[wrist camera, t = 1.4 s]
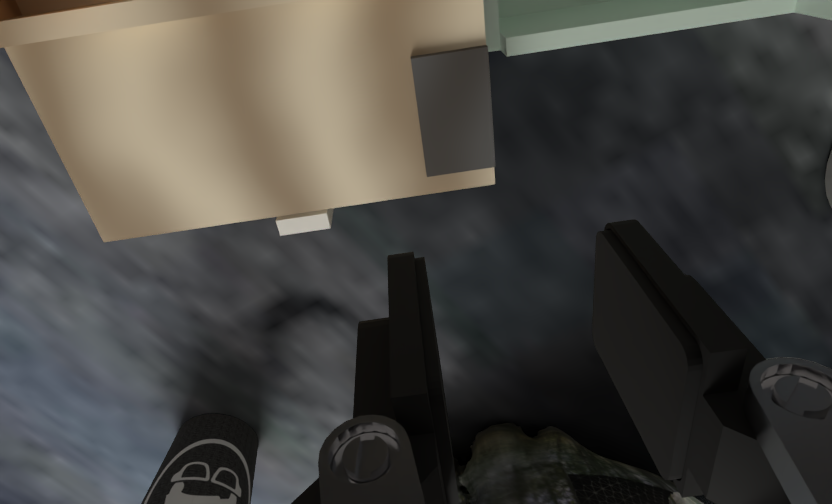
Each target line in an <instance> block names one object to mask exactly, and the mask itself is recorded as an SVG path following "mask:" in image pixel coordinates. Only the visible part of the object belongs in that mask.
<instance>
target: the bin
mask: <svg viewBox="0 0 832 504" xmlns="http://www.w3.org/2000/svg"><path fill="white" fill-rule="evenodd" d="M483 4H484V20H485V35H486V45H487V46H488V52H491V51H497V50H501V51H502V52H503V53H504V54H505V55H506V56H514V55H520V54H527V53H533V52H540V51H546V50H553V49H559V48H566V47H572V46H579V45H585V44H592V43H598V42H605V41H611V40H618V39H624V38H631V37H637V36H644V35H650V34H657V33H663V32H670V31H676V30H683V29H689V28H696V27H702V26H709V25H715V24H722V23H728V22H735V21H741V20H748V19H754V18H761V17H767V16H774V15H780V14H787V13H793V12H795V13H800V14H805V15H809V16H814V17H819V18H823V19H828V20H832V0H483Z"/></svg>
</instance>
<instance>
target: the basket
mask: <svg viewBox="0 0 832 504" xmlns="http://www.w3.org/2000/svg"><path fill="white" fill-rule="evenodd" d="M470 447H471V450H472V458H471V460H470V461H468V462H467V465H462V466H460V465H459V462H458V460H457V459H456V458H454V457H453V459H454V466H455V473H456V480H457V488H458V495H459V502H460V504H704V503H703V502H702V501H700V500H699V499H698V498H696V497H695V496H692V497H685V498H682V497H681V495H680V493H679V491H678V489H677V487H676V486H675V484H674V483H673V482H671V481H669V480H664V479H663V477H660V476H658V475H656V474H654V473H651V472H649V471H646V470H643V469H640V468H637V467H634V466H631V465H627V464H624V463H621V462H618V461H614V460H611V459H608V458H605V457H602V456H599V455H597V454H595V453H593V452H591V451H590V450H588V449H586V448H585V447H583V446H582V445H581V444H579V443H578V442H577V441H575V440H574V439H573V438H572V437H570V436H569V435H568V434H566V433H565V432H563V431H561V430H560V429H558V428H556V427H553V426H549V427H547V428H545V429H542V430H540V431H538V432H537V436H534V438H532V437H528V436H527V435H525V434H524V432H523V431H522V428H521V427H520V426H516V425H515V424H514V423H502V424H497V425H491V426H490V427H488V428H487V429H485V430H483V431H482V432H479V433H478V434H477V435H476V436H475V441H473V445H472V446H470Z"/></svg>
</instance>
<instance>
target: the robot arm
mask: <svg viewBox="0 0 832 504" xmlns="http://www.w3.org/2000/svg"><path fill="white" fill-rule="evenodd" d="M825 187H826V196H827V198H828V201H829V203H830V206H831V208H832V150H831V153H830V156H829V159H828V162H827V168H826V175H825ZM388 296H389V317H388V318H381V319H374V320H367V321H360V322H359V324H358V337H357V355H356V374H355V393H354V411H353V419H351V420H348V421H346V422H344V423H343V424H341V425H340V426H338V427H337V428H335V429H334V430H333V431H332V432H331V434H330V435H329V436H328V437H327V438H326V439H325V441H324V443H323V445H322V447H321V449H320V453H319V461H318V467H319V478H318V479H317V480H316V481H315V482H314V483H313V484H312V485H310V486H309V487H308V488H307V489H306V490H305V491H304V492H303V493H302V494H301V495H300V496H299V497H298V498H297V499H296V500H294V501H293V502H292V503H291V504H460V502H459V495H458V488H457V480H456V473H455V466H454V459H453V452H452V444H451V437H450V430H449V423H448V415H447V408H446V401H445V394H444V386H443V379H442V372H441V365H440V358H439V351H438V345H437V338H436V331H435V325H434V318H433V312H432V305H431V298H430V292H429V285H428V279H427V272H426V265H425V259H424V257H421V258H415V259H414V253H413V252H409V253H402V254H395V255H388ZM592 336H593V341H594V345H595V347H596V349H597V351H598V353H599V355H600V357H601V359H602V361H603V363H604V365H605V367H606V369H607V371H608V373H609V375H610V377H611V379H612V381H613V383H614V385H615V387H616V389H617V391H618V392H619V394H620V396H621V398H622V400H623V402H624V404H625V406H626V408H627V410H628V412H629V414H630V416H631V418H632V420H633V422H634V424H635V426H636V428H637V430H638V432H639V434H640V436H641V438H642V440H643V442H644V443H645V445H646V447H647V449H648V451H649V453H650V455H651V457H652V459H653V461H654V463H655V465H656V467H657V469H658V471H659V473H660V475H661V476H662V477H663V479H664V480H673V482H674V484H675V486H676V487H677V489H678V491H679V493H680V495H681V497H682V498H685V497H692V496H699V495H704V496H705V498H706V499H708V500H710V501H712V502H714V503H716V504H832V370H831V369H830V368H827V367H825V366H822V365H820V364H817V363H815V362H812V361H807V360H803V359H799V358H788V357H778V358H771V359H765V358H764V357H763V356H762V354H761V353H760V352H759V351H758V350H757V349H756V348H755V346H754V345H753V344H752V343H751V342H750V341H749V340H748V339H747V337H746V336H745V335H744V334H743V333H742V332H741V331H740V330H739V328H738V327H737V326H736V325H735V324H734V323H733V322H732V321H731V319H730V318H729V317H728V316H727V315H726V314H725V313H724V312H723V310H722V309H721V308H720V307H719V306H718V305H717V304H716V303H715V301H714V300H713V299H712V298H711V297H710V296H709V295H708V294H707V292H706V291H705V290H704V289H703V288H702V287H701V286H700V285H699V283H698V282H697V281H696V280H695V279H694V278H692V277H691V276H689V275H684V274H683V272H682V271H681V270H680V269H679V268H678V267H677V266H676V264H675V263H674V262H673V261H672V260H671V259H670V258H669V256H668V255H667V254H666V253H665V252H664V251H663V249H662V248H661V247H660V246H659V245H658V244H657V243H656V241H655V240H654V239H653V238H652V237H651V236H650V234H649V233H648V232H647V231H646V230H645V229H644V228H643V226H642V225H641V224H640V223H639V222H638V221H637V220H627V221H620V222H613V223H607V224H606V226H605V229H604V231H599V232H598V233H597V236H596V253H595V275H594V298H593V320H592Z"/></svg>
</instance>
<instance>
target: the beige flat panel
mask: <svg viewBox="0 0 832 504" xmlns="http://www.w3.org/2000/svg"><path fill="white" fill-rule="evenodd" d="M0 48H5V50H6V52H7V54H8V56H9V58H10V60H11V62H12V64H13V65H14V67H15V69H16V71H17V73H18V75H19V77H20V79H21V81H22V83H23V85H24V87H25V89H26V91H27V93H28V95H29V97H30V99H31V101H32V103H33V105H34V107H35V109H36V111H37V112H38V114H39V116H40V118H41V120H42V122H43V124H44V126H45V128H46V130H47V132H48V134H49V136H50V138H51V140H52V142H53V144H54V146H55V148H56V150H57V152H58V154H59V156H60V158H61V159H62V161H63V163H64V165H65V167H66V169H67V171H68V173H69V175H70V177H71V179H72V181H73V183H74V185H75V187H76V189H77V191H78V193H79V195H80V197H81V199H82V201H83V203H84V205H85V206H86V208H87V210H88V212H89V214H90V216H91V218H92V220H93V222H94V224H95V226H96V228H97V230H98V232H99V234H100V236H101V238H102V240H103V242H109V241H116V240H123V239H130V238H136V237H143V236H150V235H156V234H163V233H170V232H177V231H183V230H190V229H197V228H204V227H210V226H217V225H224V224H230V223H237V222H244V221H251V220H257V219H264V218H271V217H277V216H284V215H291V214H298V213H304V212H311V211H318V210H324V209H331V208H338V207H345V206H351V205H358V204H365V203H371V202H378V201H385V200H392V199H398V198H405V197H412V196H419V195H425V194H432V193H439V192H445V191H452V190H459V189H466V188H472V187H479V186H486V185H492V184H495V174H494V167H495V152H494V136H493V120H492V104H491V88H490V73H489V57H488V46H487V45H486V35H485V20H484V4H483V0H0Z"/></svg>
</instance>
